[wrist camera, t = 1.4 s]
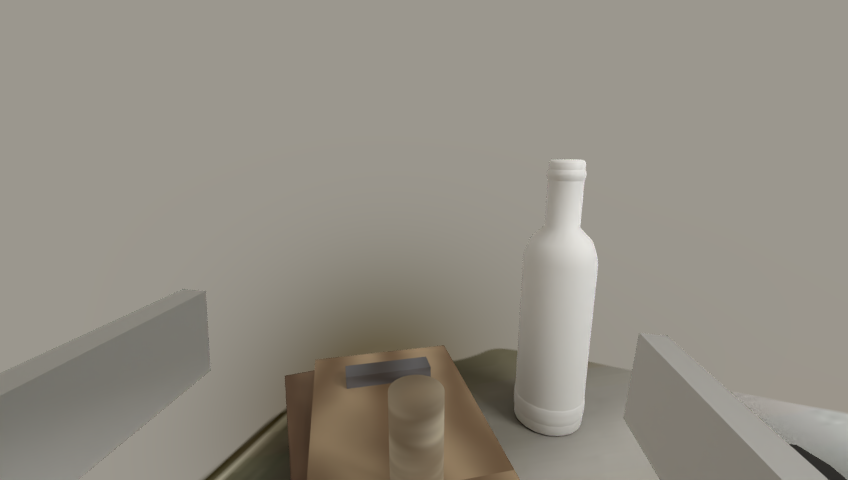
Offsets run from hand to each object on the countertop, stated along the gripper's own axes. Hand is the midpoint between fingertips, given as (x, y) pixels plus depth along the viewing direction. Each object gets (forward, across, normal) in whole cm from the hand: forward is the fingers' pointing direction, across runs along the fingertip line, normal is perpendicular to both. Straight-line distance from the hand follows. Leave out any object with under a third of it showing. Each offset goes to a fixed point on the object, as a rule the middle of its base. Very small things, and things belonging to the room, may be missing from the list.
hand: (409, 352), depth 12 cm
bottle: (+33, +13, -24) cm, 43 cm away
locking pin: (+10, 0, -21) cm, 23 cm away
